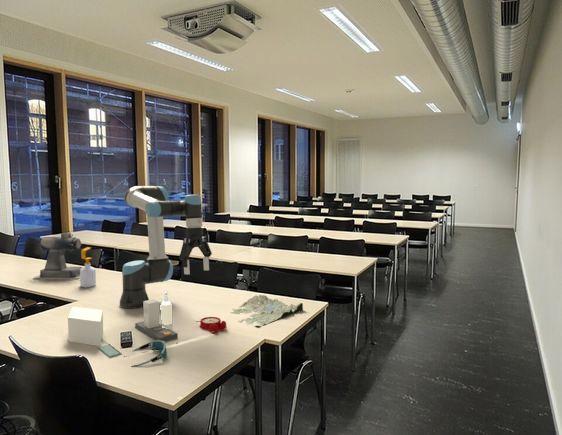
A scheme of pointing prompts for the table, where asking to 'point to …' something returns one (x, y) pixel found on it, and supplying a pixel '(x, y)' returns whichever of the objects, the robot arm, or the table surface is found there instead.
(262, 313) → the topographic map model
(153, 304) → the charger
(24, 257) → the table surface
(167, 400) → the table surface
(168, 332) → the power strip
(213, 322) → the alarm clock
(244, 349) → the table surface
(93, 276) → the soap bottle
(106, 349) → the felt mat
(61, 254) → the grinder
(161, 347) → the sunglasses
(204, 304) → the table surface
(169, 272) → the robot arm
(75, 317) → the white rectangular block
